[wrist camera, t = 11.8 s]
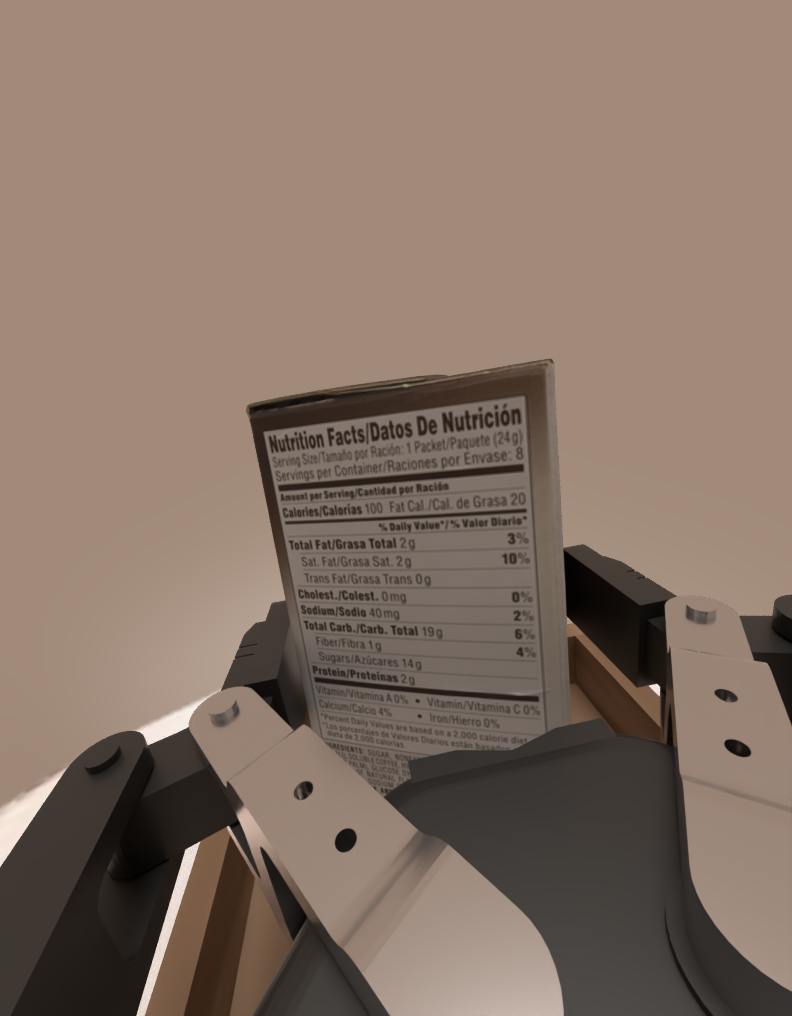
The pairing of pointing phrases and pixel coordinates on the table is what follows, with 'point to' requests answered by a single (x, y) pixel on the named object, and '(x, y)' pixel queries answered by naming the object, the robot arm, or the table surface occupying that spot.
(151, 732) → the table surface
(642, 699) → the walnut tray
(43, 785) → the table surface
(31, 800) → the table surface
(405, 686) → the coffee box
